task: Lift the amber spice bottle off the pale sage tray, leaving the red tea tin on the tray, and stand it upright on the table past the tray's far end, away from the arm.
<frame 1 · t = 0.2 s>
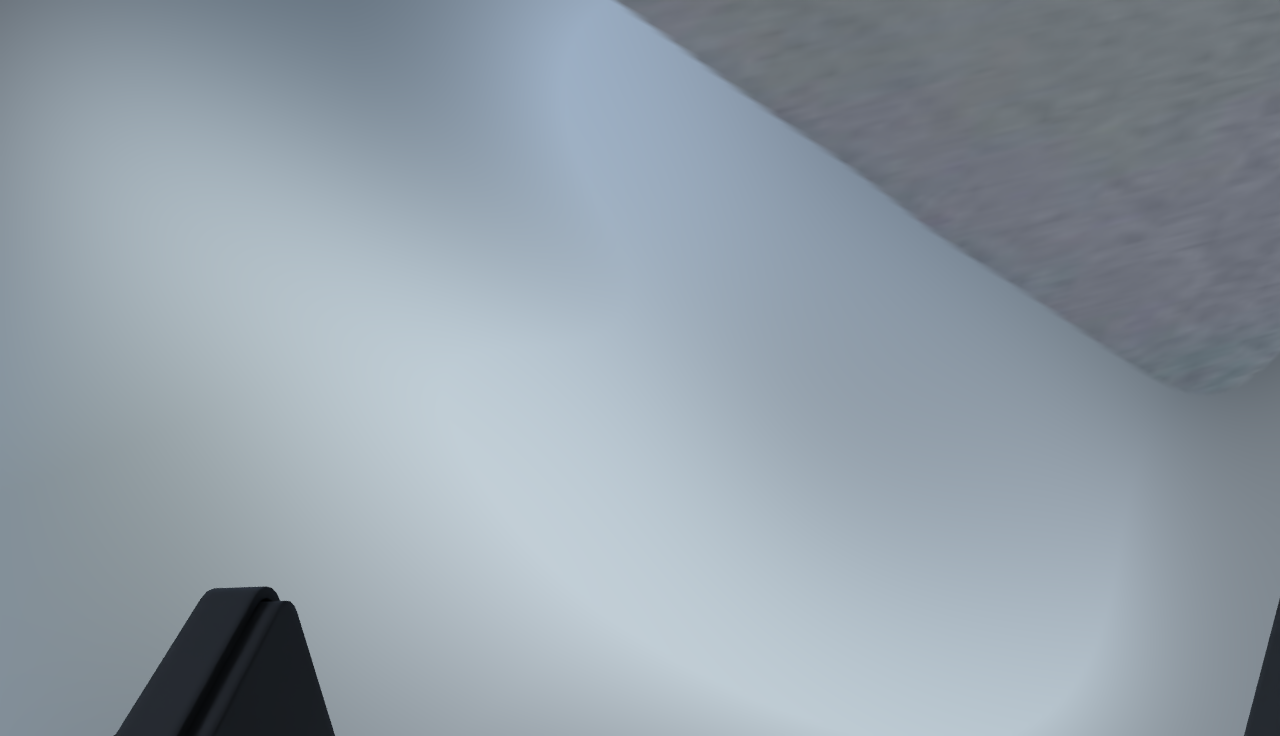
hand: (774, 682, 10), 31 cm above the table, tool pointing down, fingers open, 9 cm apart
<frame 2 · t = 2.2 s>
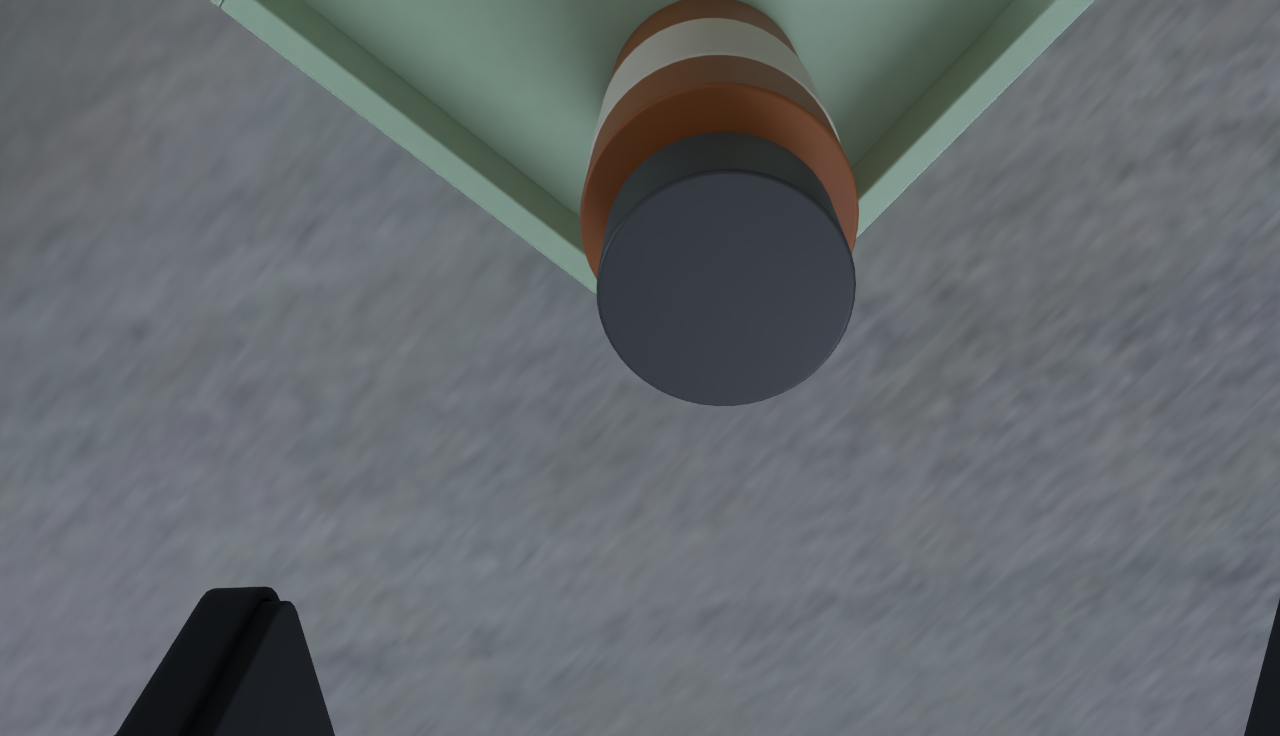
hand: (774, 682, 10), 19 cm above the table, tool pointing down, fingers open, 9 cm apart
spice bottle: (706, 97, 26), point 1 cm above the table, touching tray
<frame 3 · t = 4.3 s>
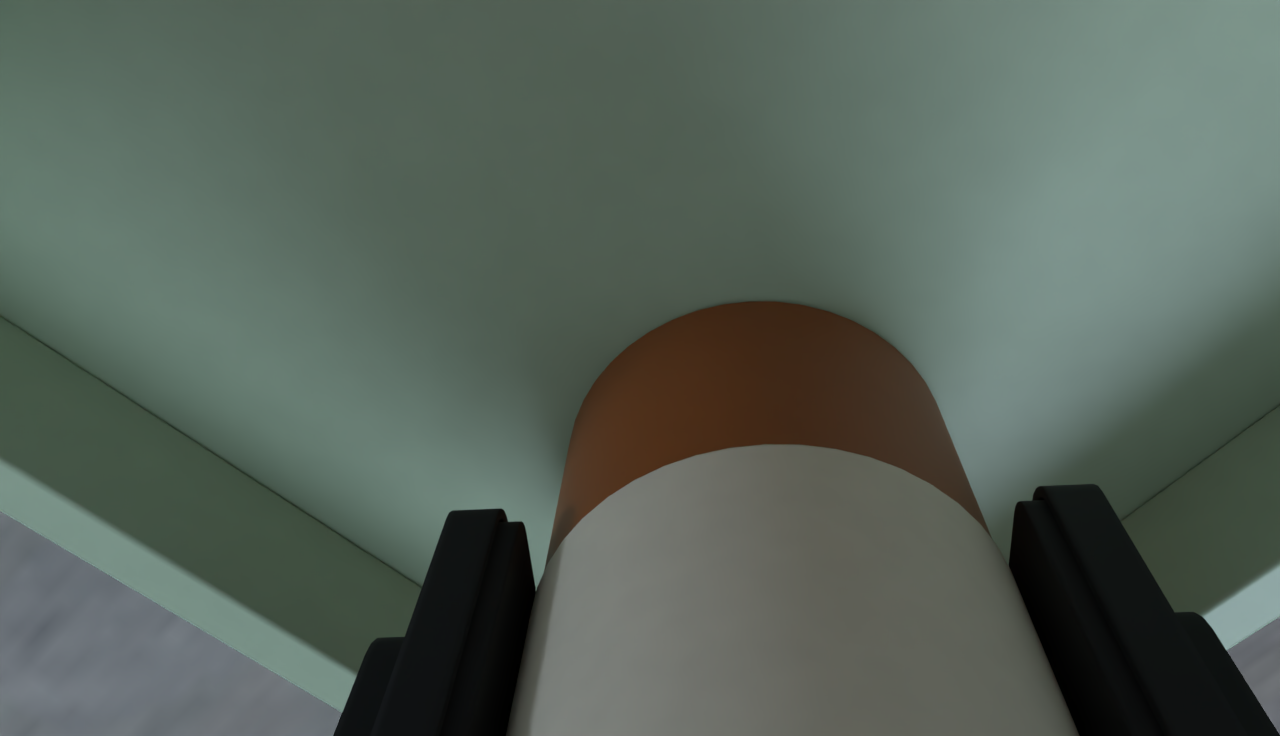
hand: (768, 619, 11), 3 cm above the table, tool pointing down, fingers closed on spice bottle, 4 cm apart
spice bottle: (755, 469, 13), point 1 cm above the table, touching gripper, tray
tray: (802, 62, 12), on the table
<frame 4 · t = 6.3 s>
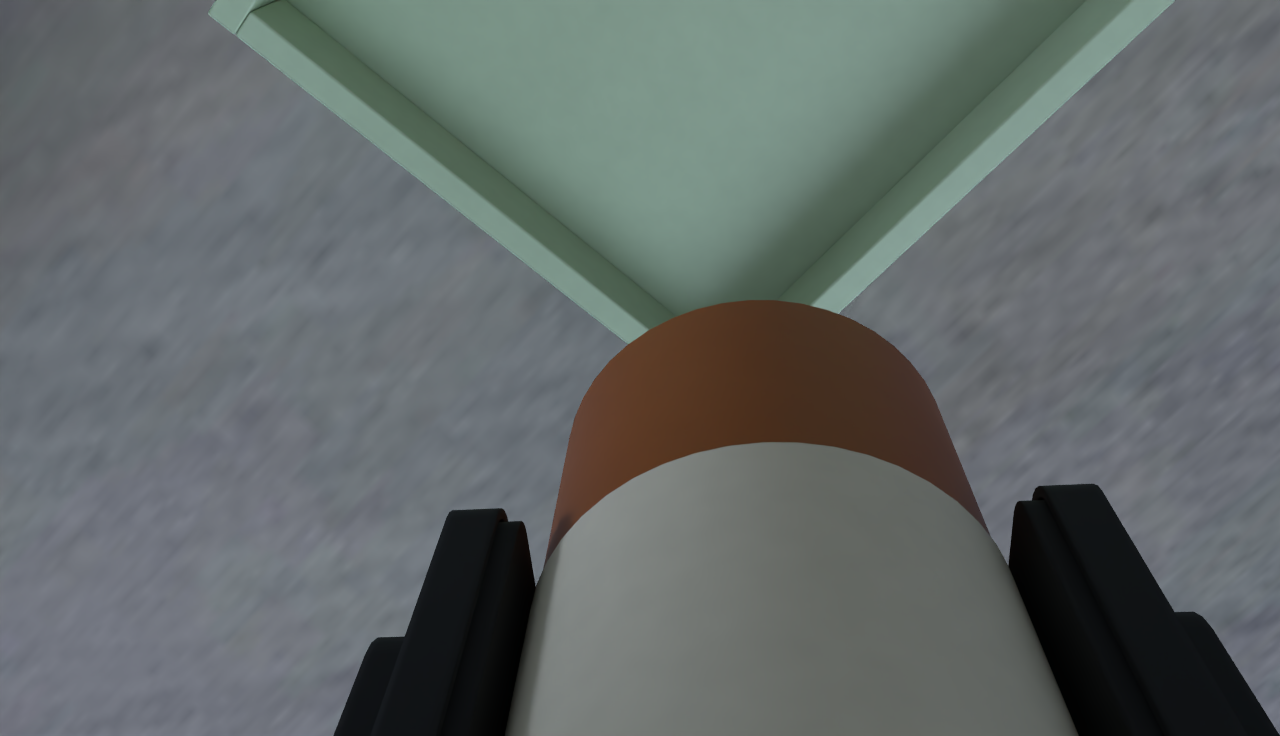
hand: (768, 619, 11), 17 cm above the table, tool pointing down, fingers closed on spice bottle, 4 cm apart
spice bottle: (754, 468, 13), point 15 cm above the table, touching gripper
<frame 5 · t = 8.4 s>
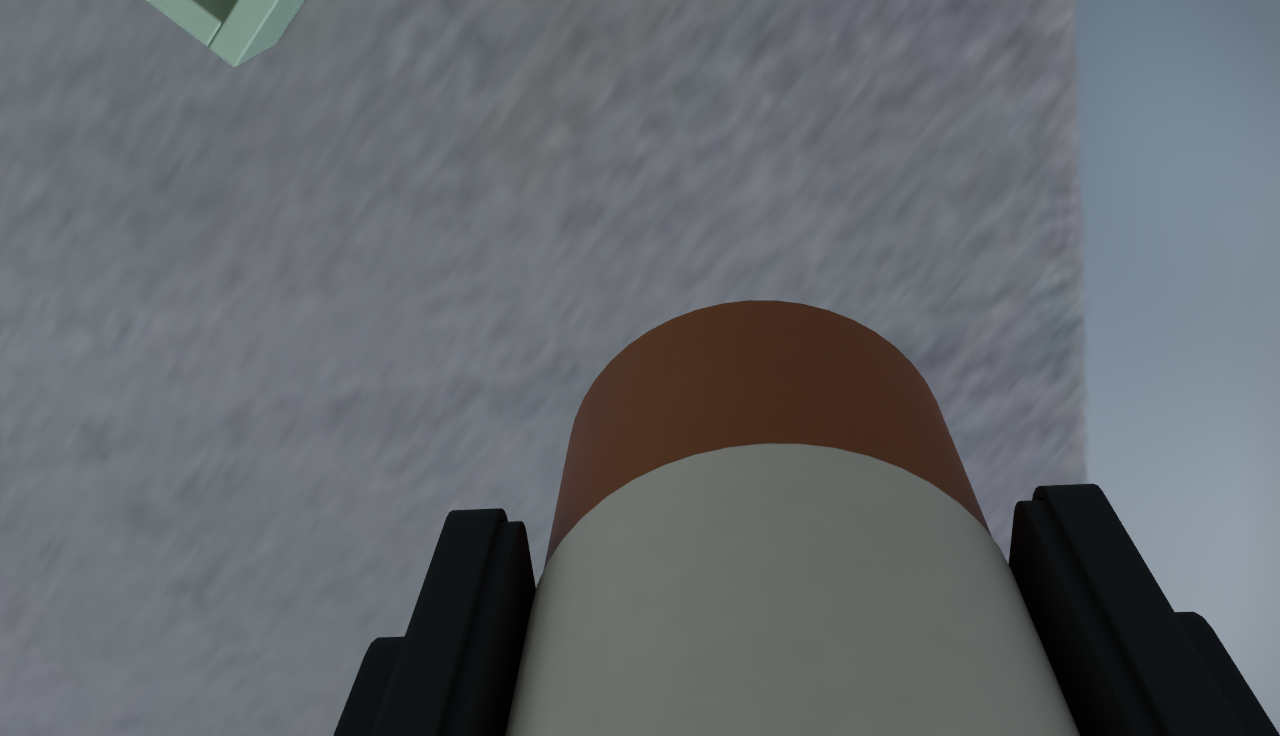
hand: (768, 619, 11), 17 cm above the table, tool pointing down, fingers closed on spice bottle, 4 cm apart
spice bottle: (755, 468, 13), point 14 cm above the table, touching gripper
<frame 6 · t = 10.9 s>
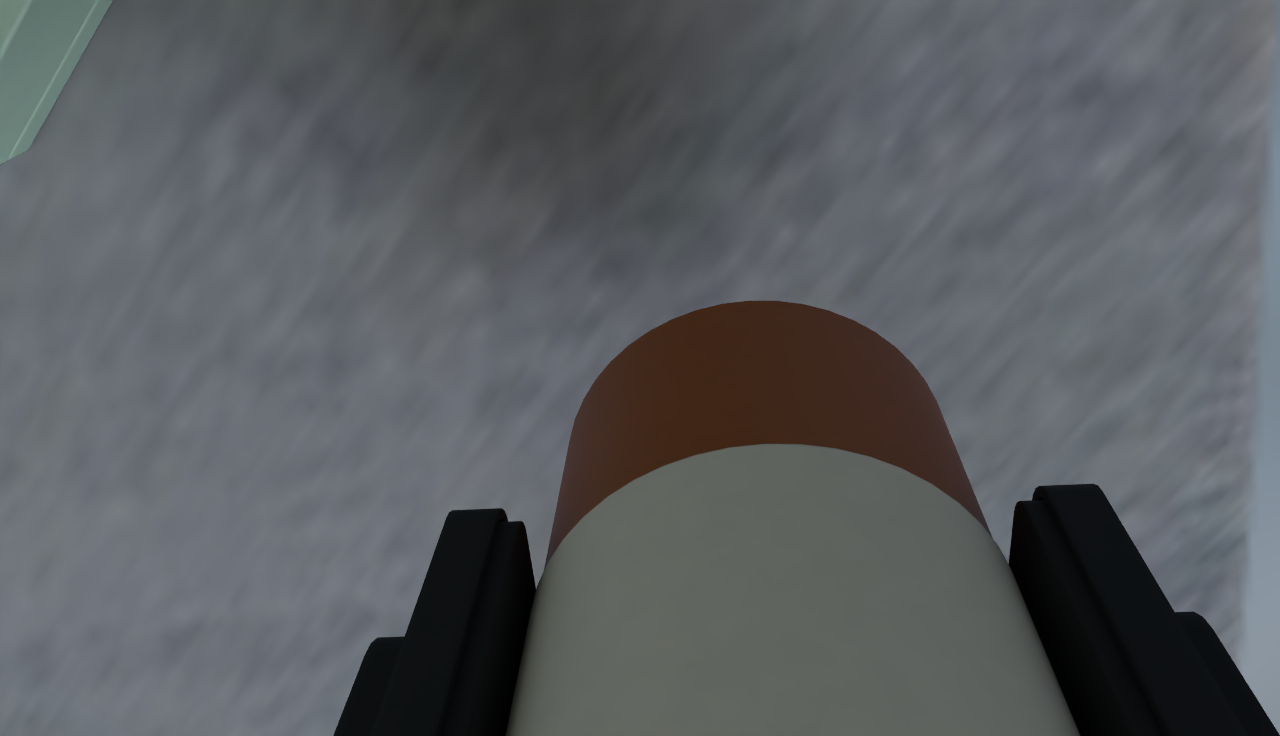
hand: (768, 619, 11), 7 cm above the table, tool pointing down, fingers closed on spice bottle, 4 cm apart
spice bottle: (755, 469, 13), point 4 cm above the table, touching gripper
when the fingers open (3 cm above the table, at t = 12.6 s): spice bottle stays where it is, on the table.
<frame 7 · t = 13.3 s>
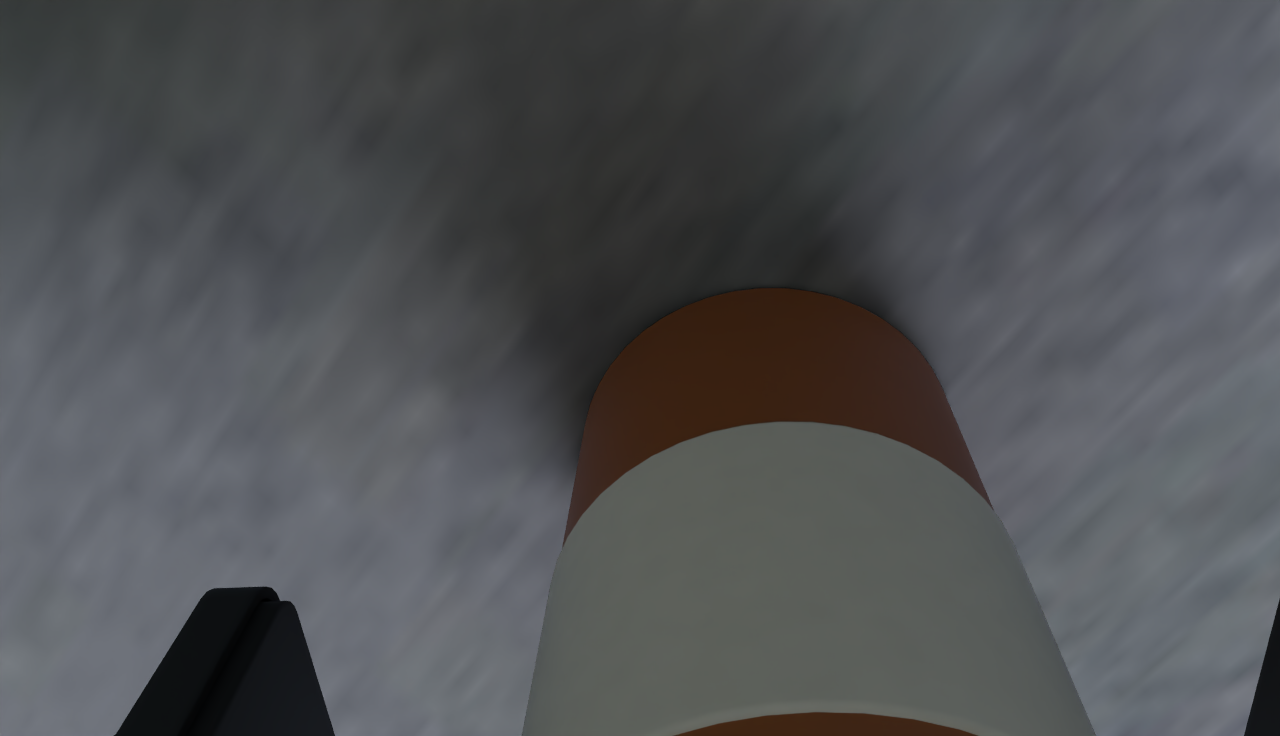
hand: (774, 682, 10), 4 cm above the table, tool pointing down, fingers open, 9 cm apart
spice bottle: (765, 452, 14), on the table
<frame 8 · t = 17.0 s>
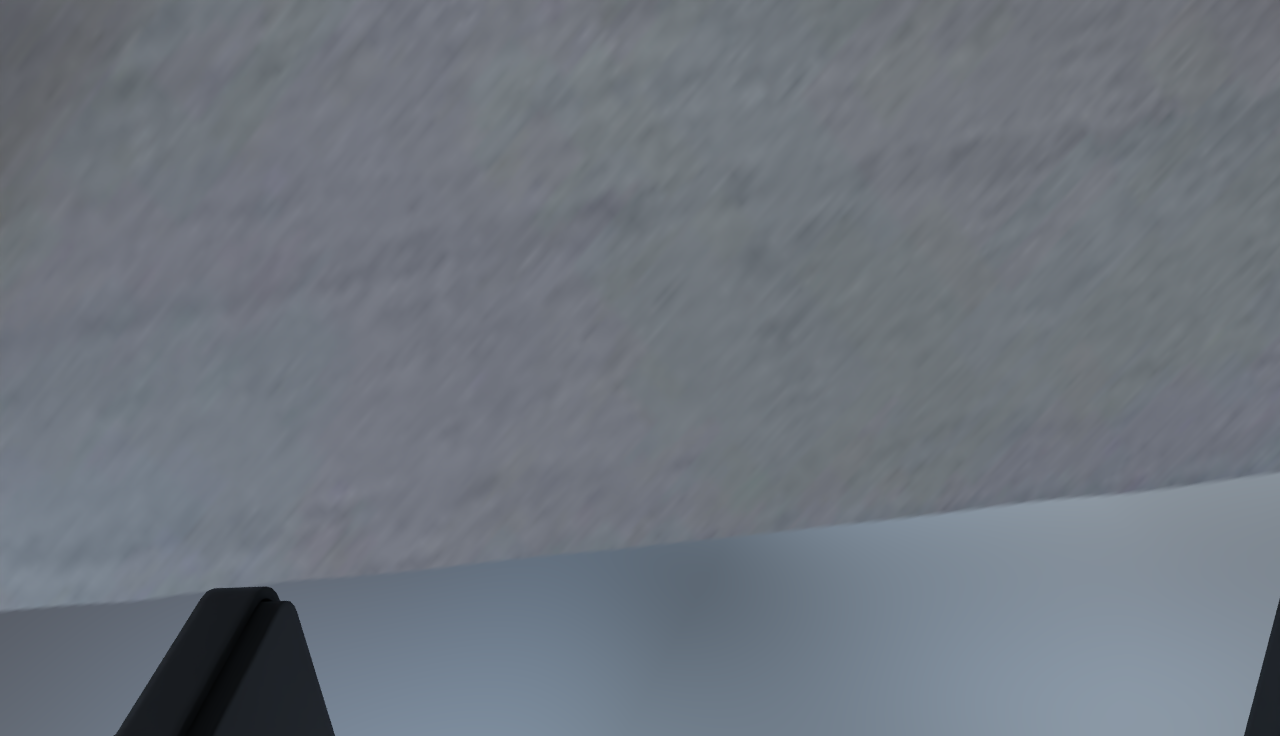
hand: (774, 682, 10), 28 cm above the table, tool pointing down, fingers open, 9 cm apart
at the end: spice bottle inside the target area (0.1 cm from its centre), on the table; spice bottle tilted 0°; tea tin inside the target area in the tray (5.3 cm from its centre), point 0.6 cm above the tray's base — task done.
